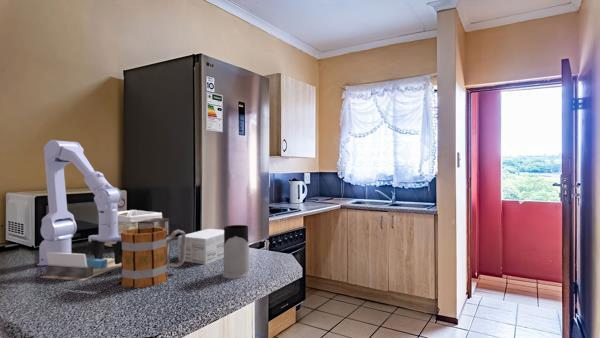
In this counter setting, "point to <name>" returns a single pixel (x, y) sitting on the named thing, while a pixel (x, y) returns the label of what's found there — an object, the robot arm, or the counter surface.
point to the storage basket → (132, 220)
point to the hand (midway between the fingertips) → (108, 263)
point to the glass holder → (236, 252)
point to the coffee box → (158, 223)
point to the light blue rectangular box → (97, 263)
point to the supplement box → (203, 246)
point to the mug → (147, 256)
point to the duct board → (78, 271)
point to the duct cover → (67, 259)
